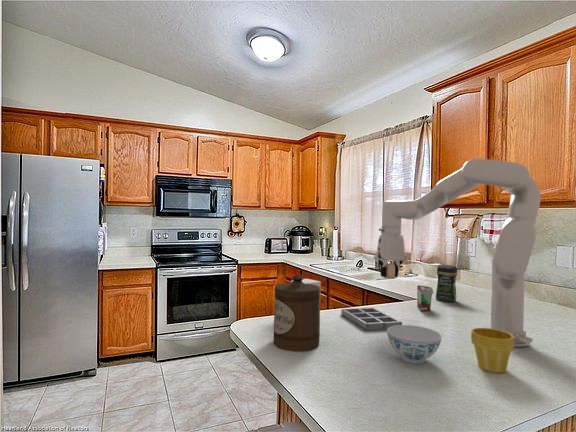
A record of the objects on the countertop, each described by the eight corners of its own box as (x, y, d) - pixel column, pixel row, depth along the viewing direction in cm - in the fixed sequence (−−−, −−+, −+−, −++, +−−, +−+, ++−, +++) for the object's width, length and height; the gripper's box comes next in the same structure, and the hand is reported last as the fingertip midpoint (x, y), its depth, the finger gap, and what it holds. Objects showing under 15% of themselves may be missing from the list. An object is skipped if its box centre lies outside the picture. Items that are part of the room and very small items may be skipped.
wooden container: (267, 337, 119) (269, 272, 119) (308, 334, 124) (309, 270, 124) (282, 353, 105) (284, 279, 105) (327, 348, 110) (329, 277, 110)
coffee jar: (433, 300, 185) (434, 264, 185) (439, 297, 191) (440, 263, 191) (453, 303, 179) (454, 266, 179) (458, 301, 184) (459, 265, 185)
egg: (397, 278, 141) (397, 263, 141) (387, 278, 140) (387, 262, 140) (391, 276, 145) (391, 261, 145) (381, 276, 144) (382, 261, 144)
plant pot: (465, 367, 98) (465, 332, 99) (477, 358, 106) (478, 325, 106) (507, 380, 91) (508, 341, 91) (518, 369, 98) (518, 333, 98)
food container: (435, 313, 158) (436, 290, 158) (421, 312, 159) (421, 289, 159) (430, 306, 170) (430, 285, 170) (416, 305, 171) (417, 285, 171)
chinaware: (398, 346, 114) (398, 322, 114) (447, 358, 105) (448, 332, 105) (377, 359, 102) (378, 332, 103) (431, 374, 93) (431, 345, 93)
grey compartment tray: (401, 328, 133) (402, 321, 133) (365, 330, 129) (365, 323, 129) (373, 313, 154) (373, 307, 154) (341, 314, 150) (341, 308, 151)
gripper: (376, 231, 137) (374, 278, 137) (415, 232, 141) (413, 278, 141) (367, 230, 144) (365, 275, 144) (404, 231, 148) (402, 275, 148)
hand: (389, 276), depth 143 cm, fingers closed on egg, 4 cm apart
